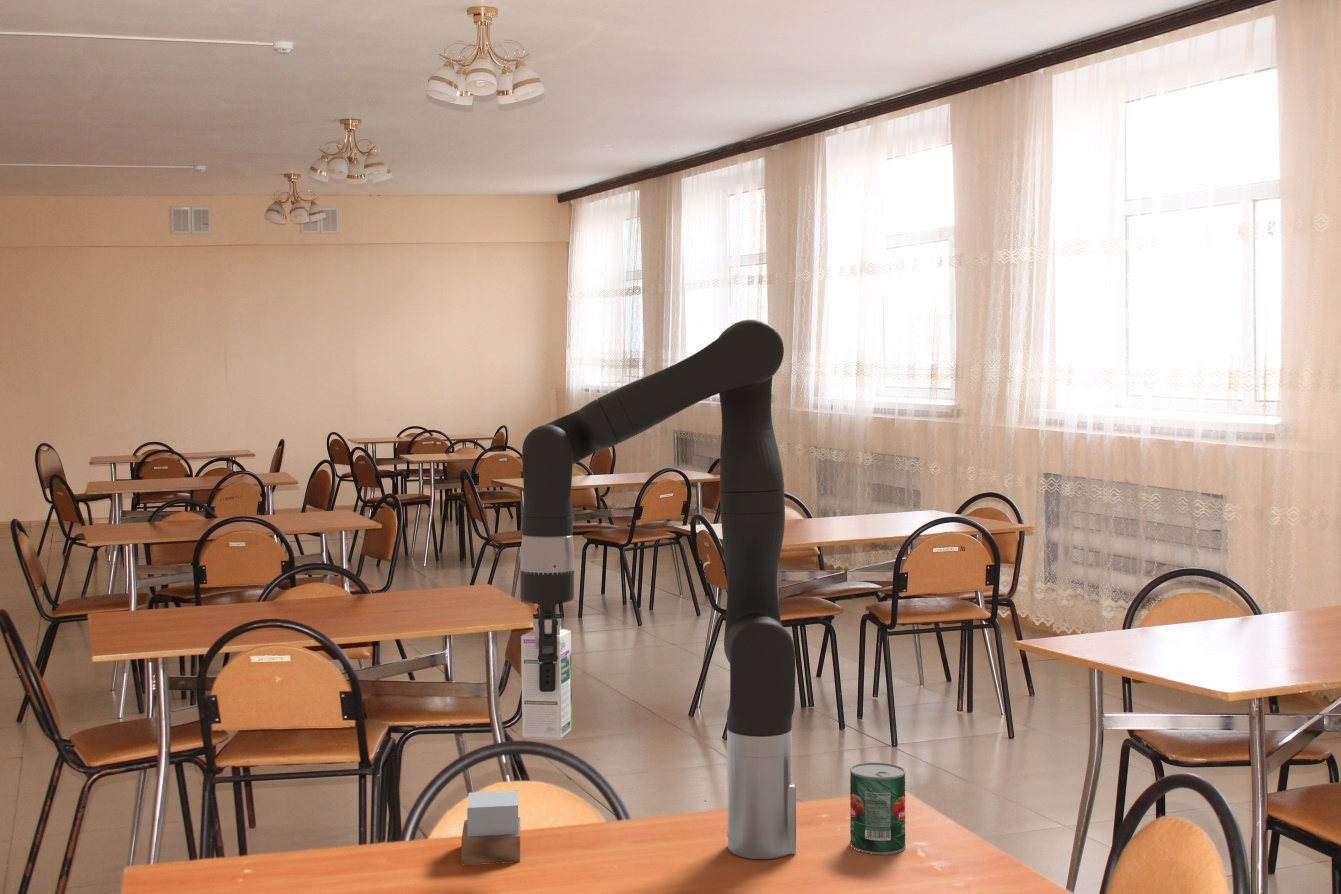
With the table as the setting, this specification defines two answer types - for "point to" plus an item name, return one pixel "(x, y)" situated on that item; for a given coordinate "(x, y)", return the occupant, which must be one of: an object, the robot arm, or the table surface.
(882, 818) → the canned tomato
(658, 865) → the table surface
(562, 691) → the syrup box
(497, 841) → the tower base
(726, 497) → the robot arm
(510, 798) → the tower top
